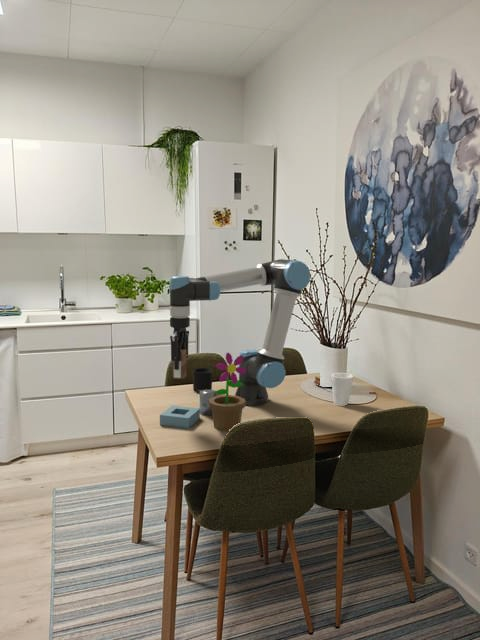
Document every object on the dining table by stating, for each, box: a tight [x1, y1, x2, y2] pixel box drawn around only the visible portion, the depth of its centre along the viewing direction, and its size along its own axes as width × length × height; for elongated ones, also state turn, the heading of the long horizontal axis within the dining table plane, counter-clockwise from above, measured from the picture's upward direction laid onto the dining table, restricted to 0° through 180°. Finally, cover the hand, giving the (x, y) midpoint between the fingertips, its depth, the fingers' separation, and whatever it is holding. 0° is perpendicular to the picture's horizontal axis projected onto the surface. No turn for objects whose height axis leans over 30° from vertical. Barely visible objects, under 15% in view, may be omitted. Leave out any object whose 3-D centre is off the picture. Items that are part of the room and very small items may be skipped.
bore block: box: [159, 405, 201, 429], centre depth 201 cm, size 12×12×4 cm
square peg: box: [172, 349, 187, 380], centre depth 198 cm, size 4×4×11 cm
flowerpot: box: [209, 352, 247, 432], centre depth 195 cm, size 14×14×30 cm
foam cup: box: [330, 372, 354, 407], centre depth 225 cm, size 10×9×13 cm
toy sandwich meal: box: [313, 375, 321, 386], centre depth 256 cm, size 12×14×5 cm
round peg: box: [199, 389, 217, 416], centre depth 211 cm, size 7×7×9 cm
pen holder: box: [192, 367, 213, 394], centre depth 242 cm, size 9×9×10 cm
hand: (179, 375), depth 199 cm, fingers closed on square peg, 4 cm apart
